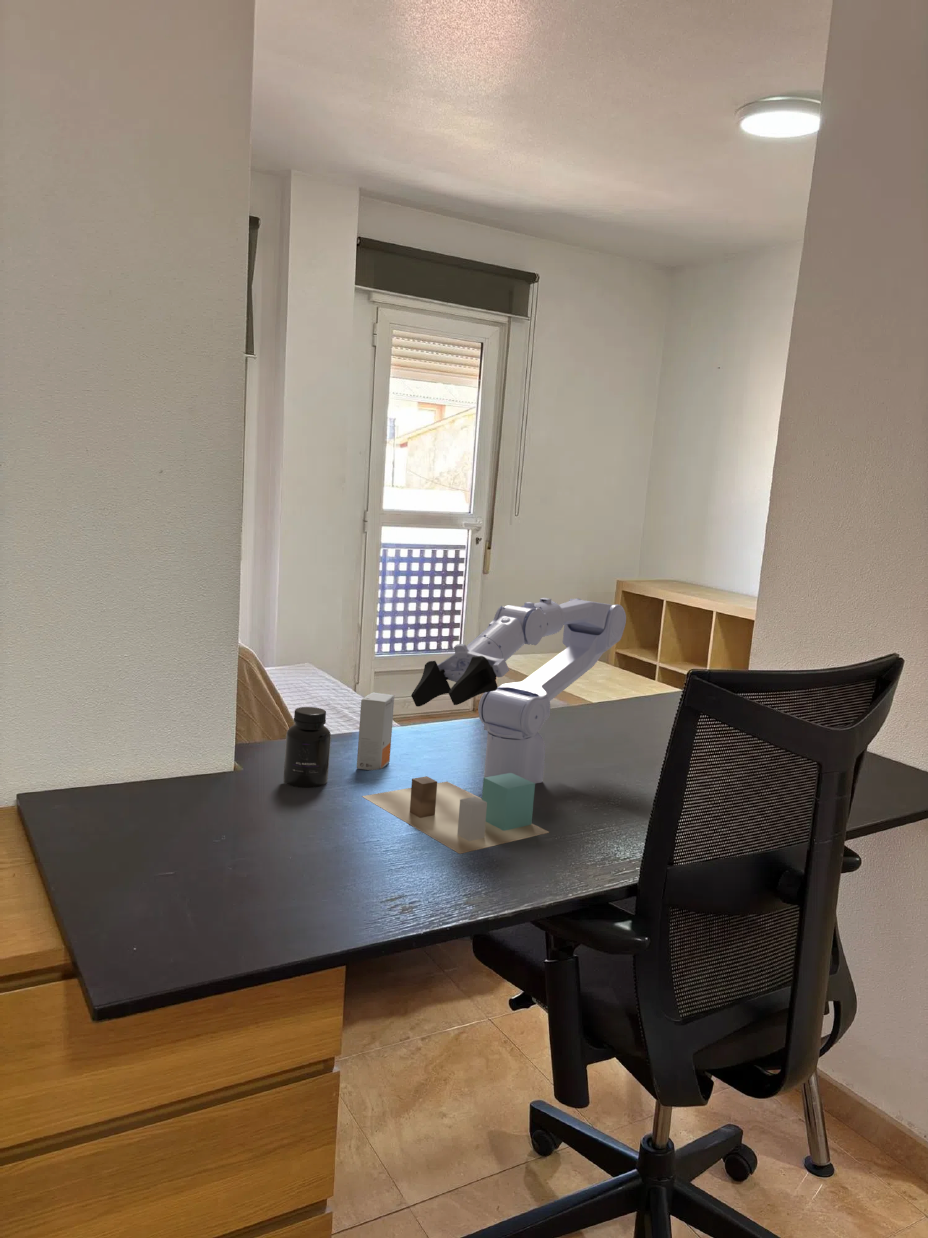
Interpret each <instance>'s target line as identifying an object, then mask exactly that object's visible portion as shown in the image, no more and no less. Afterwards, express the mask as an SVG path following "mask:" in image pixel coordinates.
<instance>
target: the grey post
mask: <svg viewBox="0 0 928 1238" xmlns="http://www.w3.org/2000/svg"><path fill="white" fill-rule="evenodd" d="M486 809H487V802H485V801H483V800H481V799H479V798H477V797H470V798H465V799H460V807H459V820H458V833H457V835H459V836H461V837H462V838H464V839H466V840H468V841H472V840H477V839H481V838H484V834H485V822H486Z"/></svg>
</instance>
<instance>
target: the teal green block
mask: <svg viewBox="0 0 928 1238" xmlns="http://www.w3.org/2000/svg"><path fill="white" fill-rule="evenodd" d="M535 789H536V784H535V783H533V782H531V781H528V780H526V779H524V778H522V777H519V776H517V775H515V774H513V773H508V774H502V775H496V776H491V777H485V778H484V777H483V781H482V793H481V798H482V800H483V801H485V802H487V809H486V822H488V823H490V824H492V825H493V826H495V827H497V828H499V829H501V830H503V831H505V830H510V829H514V828H519V827H523V826H527V825H531V824H533V823H532V822H533V812H534V802H535V801H534V800H535Z"/></svg>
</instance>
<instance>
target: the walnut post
mask: <svg viewBox="0 0 928 1238" xmlns="http://www.w3.org/2000/svg"><path fill="white" fill-rule="evenodd" d="M437 783H438V781H437V780H435V779H433V778H431V777H429V776H428V775H427V776H420V777H413V778H412V779H411V787H410V788H411V801H410V813H412V814H414V815H416V816H417V817H419V818H423V817H428V816H433V815H435V807H436V793H437Z"/></svg>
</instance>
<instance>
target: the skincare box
mask: <svg viewBox="0 0 928 1238" xmlns="http://www.w3.org/2000/svg"><path fill="white" fill-rule="evenodd" d="M360 700H361V702H360V714H359V727H358V729H359V731H358V742H357V743H358V744H357V757H356V769H357V770H366V771H376V770H382V769H384V767H386V766H387V765H388V764H389V763H390V760H391V749H392V748H391V747H392V734H393V723H394V718H393V717H394V707H395V706H394V705H395V694H388V693H382V692H381V693H380V692H374V691H373V692H371V693H369V694H367V695H366V696H364V697H363V698H362V699H360Z"/></svg>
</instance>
